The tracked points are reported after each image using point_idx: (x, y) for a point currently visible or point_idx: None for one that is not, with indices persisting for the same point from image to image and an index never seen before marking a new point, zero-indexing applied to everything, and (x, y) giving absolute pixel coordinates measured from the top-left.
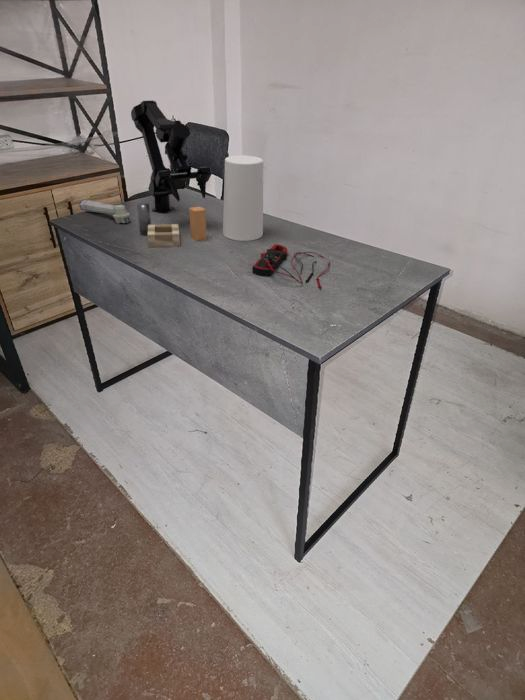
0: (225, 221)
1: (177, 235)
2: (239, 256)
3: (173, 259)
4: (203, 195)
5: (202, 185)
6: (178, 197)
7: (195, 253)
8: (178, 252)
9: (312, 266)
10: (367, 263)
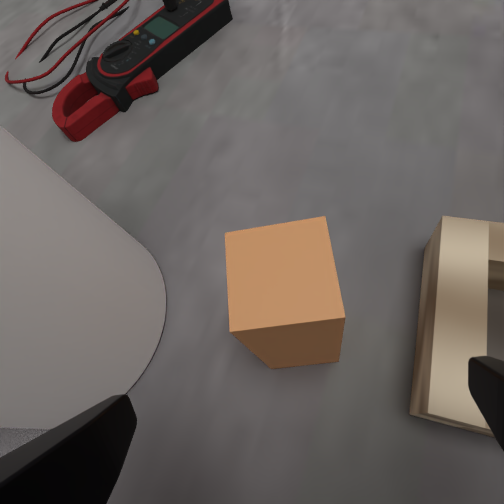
0: (124, 278)
1: (452, 220)
2: (213, 112)
3: (472, 121)
4: (120, 415)
5: (7, 496)
6: (498, 366)
7: (364, 158)
8: (441, 180)
9: (77, 25)
10: None
